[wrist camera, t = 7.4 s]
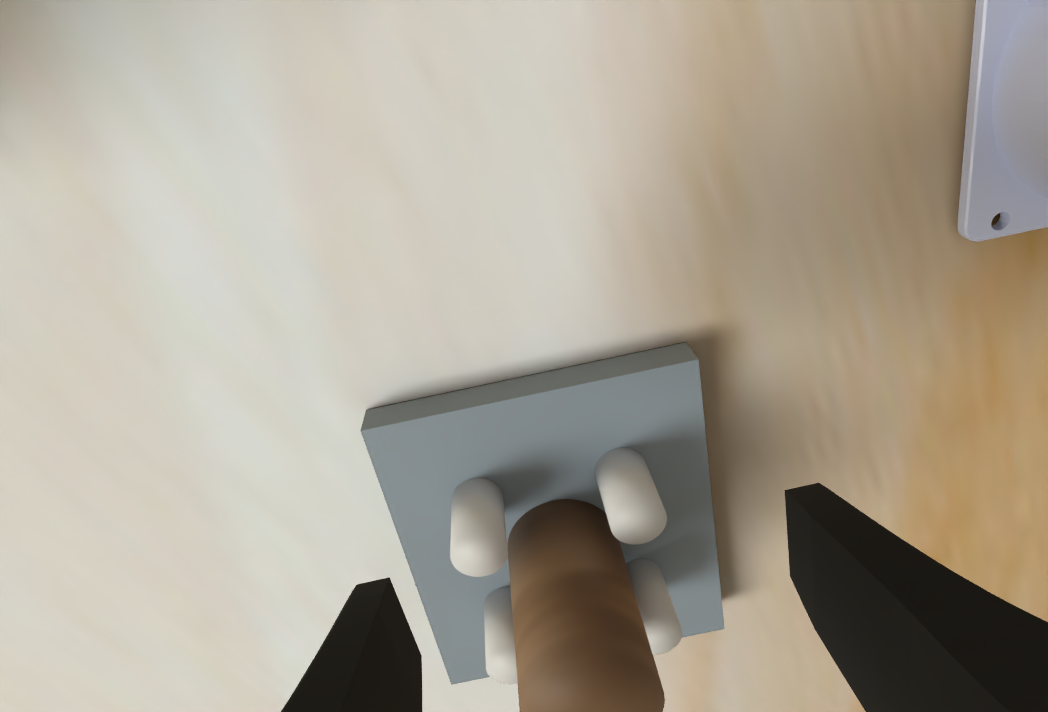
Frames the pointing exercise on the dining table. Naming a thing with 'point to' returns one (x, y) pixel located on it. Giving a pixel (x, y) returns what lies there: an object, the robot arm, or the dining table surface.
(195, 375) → the dining table surface
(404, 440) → the peg pad
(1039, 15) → the robot arm
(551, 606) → the walnut pin
